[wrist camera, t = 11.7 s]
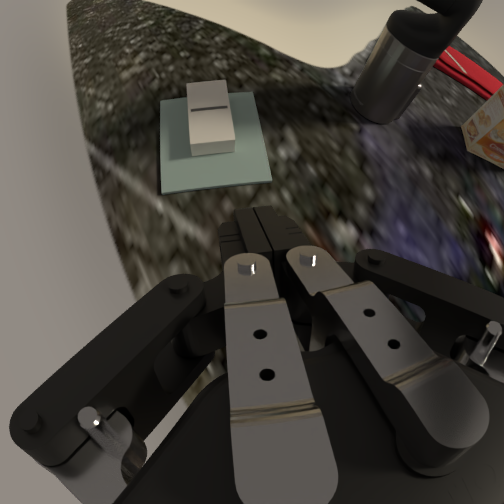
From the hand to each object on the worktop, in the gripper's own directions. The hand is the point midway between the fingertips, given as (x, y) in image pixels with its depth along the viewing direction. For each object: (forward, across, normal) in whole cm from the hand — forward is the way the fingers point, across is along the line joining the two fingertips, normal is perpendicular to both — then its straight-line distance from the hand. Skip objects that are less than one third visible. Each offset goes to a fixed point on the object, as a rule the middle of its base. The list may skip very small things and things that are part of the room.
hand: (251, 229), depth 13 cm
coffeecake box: (+34, -58, +3) cm, 68 cm away
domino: (+31, 0, +3) cm, 31 cm away
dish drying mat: (+51, -76, -14) cm, 93 cm away
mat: (+35, 0, +2) cm, 35 cm away
